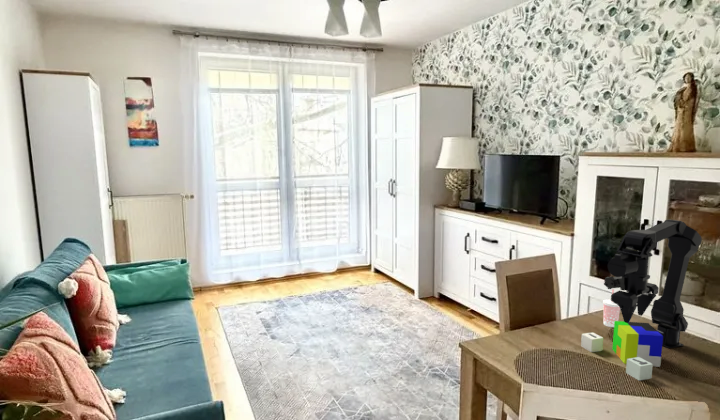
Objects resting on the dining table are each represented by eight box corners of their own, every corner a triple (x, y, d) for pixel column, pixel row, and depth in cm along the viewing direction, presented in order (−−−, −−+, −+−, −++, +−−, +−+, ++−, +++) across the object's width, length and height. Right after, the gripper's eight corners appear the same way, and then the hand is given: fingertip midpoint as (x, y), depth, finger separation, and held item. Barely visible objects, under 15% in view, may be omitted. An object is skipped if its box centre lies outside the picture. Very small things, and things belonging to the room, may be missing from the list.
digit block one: (591, 344, 146) (592, 331, 146) (602, 350, 142) (603, 337, 141) (580, 346, 145) (581, 333, 144) (591, 352, 141) (592, 338, 140)
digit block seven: (637, 370, 129) (639, 356, 128) (651, 378, 125) (652, 363, 124) (625, 373, 128) (627, 358, 127) (638, 380, 124) (640, 365, 123)
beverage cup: (619, 329, 158) (622, 293, 156) (600, 325, 161) (603, 290, 159) (619, 323, 163) (622, 288, 161) (601, 320, 166) (604, 285, 164)
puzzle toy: (660, 366, 131) (663, 336, 130) (624, 364, 133) (626, 333, 132) (645, 351, 141) (648, 323, 139) (612, 349, 143) (614, 320, 141)
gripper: (623, 260, 145) (620, 304, 147) (594, 271, 135) (592, 318, 137) (661, 268, 136) (657, 314, 138) (633, 280, 126) (629, 330, 128)
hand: (633, 318), depth 136 cm, fingers open, 9 cm apart
